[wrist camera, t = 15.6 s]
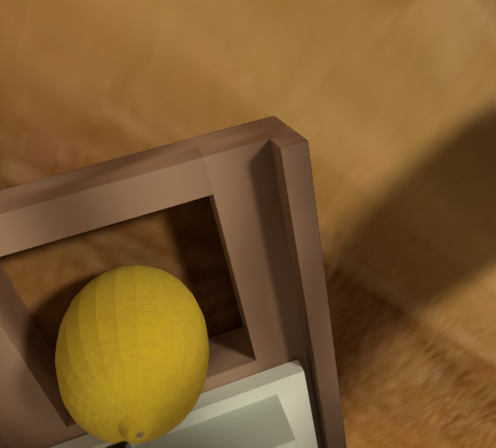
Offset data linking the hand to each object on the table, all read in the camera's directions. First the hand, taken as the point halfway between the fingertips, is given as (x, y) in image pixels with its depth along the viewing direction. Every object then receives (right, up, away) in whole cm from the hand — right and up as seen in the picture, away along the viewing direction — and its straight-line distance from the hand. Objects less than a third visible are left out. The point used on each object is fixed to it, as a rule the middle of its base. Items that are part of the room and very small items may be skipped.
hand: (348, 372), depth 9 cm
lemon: (-7, 0, +11) cm, 14 cm away
